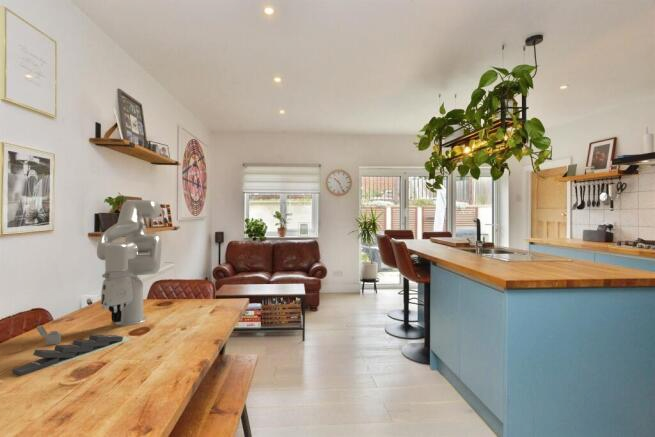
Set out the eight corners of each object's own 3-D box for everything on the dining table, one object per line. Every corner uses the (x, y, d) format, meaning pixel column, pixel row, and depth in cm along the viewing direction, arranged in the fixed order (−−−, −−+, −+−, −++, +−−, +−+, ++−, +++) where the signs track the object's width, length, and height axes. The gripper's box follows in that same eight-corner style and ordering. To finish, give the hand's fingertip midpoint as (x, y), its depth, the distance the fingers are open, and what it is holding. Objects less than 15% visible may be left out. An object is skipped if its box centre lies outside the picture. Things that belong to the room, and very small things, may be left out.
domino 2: (73, 357, 114) (41, 357, 106) (65, 355, 116) (32, 355, 108) (75, 352, 115) (43, 352, 106) (67, 350, 117) (35, 349, 108)
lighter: (60, 343, 129) (60, 322, 129) (59, 344, 127) (59, 324, 127) (37, 346, 126) (37, 325, 126) (35, 347, 124) (36, 326, 124)
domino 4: (108, 346, 125) (80, 347, 116) (99, 343, 127) (72, 344, 118) (109, 341, 126) (82, 342, 117) (101, 339, 128) (73, 339, 119)
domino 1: (58, 362, 110) (21, 377, 101) (50, 359, 112) (12, 374, 103) (58, 357, 110) (21, 372, 101) (49, 355, 112) (12, 369, 103)
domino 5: (122, 341, 130) (96, 341, 121) (113, 339, 132) (88, 339, 123) (123, 336, 130) (98, 336, 122) (115, 334, 132) (89, 334, 124)
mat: (37, 362, 112) (37, 360, 112) (116, 336, 136) (116, 335, 136) (54, 367, 108) (54, 366, 108) (132, 340, 132) (132, 338, 132)
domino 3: (92, 351, 120) (62, 352, 111) (84, 349, 122) (54, 350, 113) (93, 346, 120) (64, 347, 112) (85, 344, 122) (55, 345, 114)
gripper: (103, 278, 122) (103, 328, 122) (140, 272, 136) (140, 317, 136) (90, 277, 125) (90, 325, 125) (128, 271, 139) (128, 315, 139)
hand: (116, 321), depth 130 cm, fingers closed
